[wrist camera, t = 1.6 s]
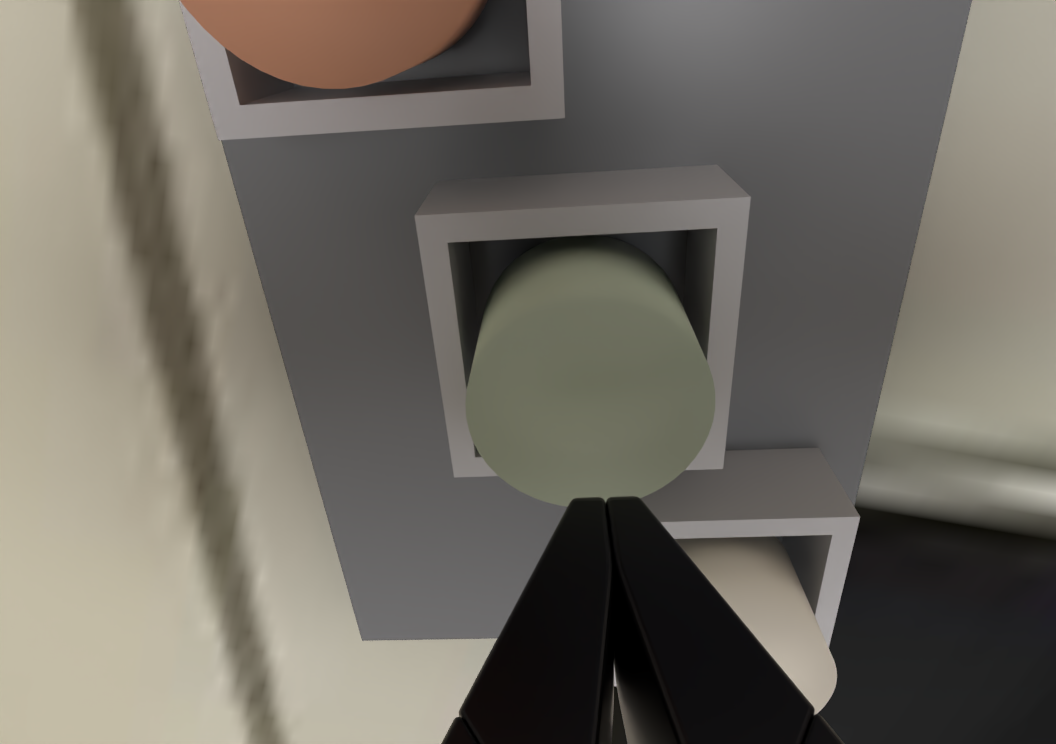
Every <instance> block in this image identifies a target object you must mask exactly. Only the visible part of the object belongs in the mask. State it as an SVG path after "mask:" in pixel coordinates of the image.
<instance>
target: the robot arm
mask: <svg viewBox="0 0 1056 744" xmlns="http://www.w3.org/2000/svg"><path fill="white" fill-rule="evenodd" d="M614 667H615V677H616V684H617V690H618V696H619V702H620V707H621V712H622V717H623V722H624V727H625V732H626V737H627V743H628V744H844V743H843V741H842V740H841V739H840V738H839V737H838V735H837V734H836V733H835V732H834V730H833V729H832V728H831V727H830V726H829V724H828V723H827V722H826V721H825V719H824V718H823V717H822V716H821V715H819V714H815V715H814V712H815V709H814V707H813V705H812V704H811V703H810V702H809V701H808V699H807V698H806V697H805V696H804V695H803V693H802V692H801V691H800V690H799V689H798V687H797V686H796V685H795V684H794V683H793V681H792V680H791V679H790V678H789V677H788V675H787V674H786V673H785V672H784V671H783V669H782V668H781V667H780V666H779V665H778V663H777V662H776V661H775V660H774V658H773V657H772V656H771V655H770V654H769V652H768V651H767V650H766V649H765V648H764V646H763V645H762V644H761V643H760V642H759V640H758V639H757V638H756V637H755V636H754V634H753V633H752V632H751V631H750V630H749V628H748V627H747V626H746V625H745V624H744V622H743V621H742V620H741V619H740V618H739V616H738V615H737V614H736V613H735V612H734V610H733V609H732V608H731V607H730V605H729V604H728V603H727V602H726V601H725V599H724V598H723V597H722V596H721V595H720V593H719V592H718V591H717V590H716V589H715V587H714V586H713V585H712V584H711V583H710V581H709V580H708V579H707V578H706V577H705V575H704V574H703V573H702V572H701V571H700V569H699V568H698V567H697V566H696V565H695V563H694V562H693V561H692V560H691V558H690V557H689V556H688V555H687V554H686V552H685V551H684V550H683V549H682V548H681V546H680V545H679V544H678V543H677V542H676V540H675V539H674V538H673V537H672V536H671V534H670V533H669V532H668V531H667V530H666V528H665V527H664V526H663V525H662V524H661V522H660V521H659V520H658V519H657V518H656V516H655V515H654V514H653V513H652V511H651V510H650V509H649V508H648V507H647V505H646V504H645V503H644V502H643V501H642V500H641V499H640V498H639V497H637V496H618V497H609V498H608V499H607V500H606V503H605V500H604V499H603V498H601V497H584V498H574V499H572V500H571V501H570V503H569V505H568V507H567V508H566V510H565V512H564V514H563V516H562V518H561V520H560V522H559V524H558V525H557V527H556V529H555V531H554V533H553V535H552V537H551V539H550V541H549V542H548V544H547V546H546V548H545V550H544V552H543V554H542V556H541V557H540V559H539V561H538V563H537V565H536V567H535V569H534V571H533V573H532V574H531V576H530V578H529V580H528V582H527V584H526V586H525V588H524V590H523V591H522V593H521V595H520V597H519V599H518V601H517V603H516V605H515V607H514V608H513V610H512V612H511V614H510V616H509V618H508V620H507V622H506V623H505V625H504V627H503V629H502V631H501V633H500V635H499V637H498V639H497V640H496V642H495V644H494V646H493V648H492V650H491V652H490V654H489V656H488V657H487V659H486V661H485V663H484V665H483V667H482V669H481V671H480V672H479V674H478V676H477V678H476V680H475V682H474V684H473V686H472V688H471V689H470V691H469V693H468V695H467V697H466V699H465V701H464V703H463V705H462V706H461V708H460V710H459V717H456V718H455V719H454V721H453V723H452V725H451V726H450V728H449V730H448V732H447V734H446V736H445V738H444V740H443V742H442V743H441V744H612V724H613V703H614Z"/></svg>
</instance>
